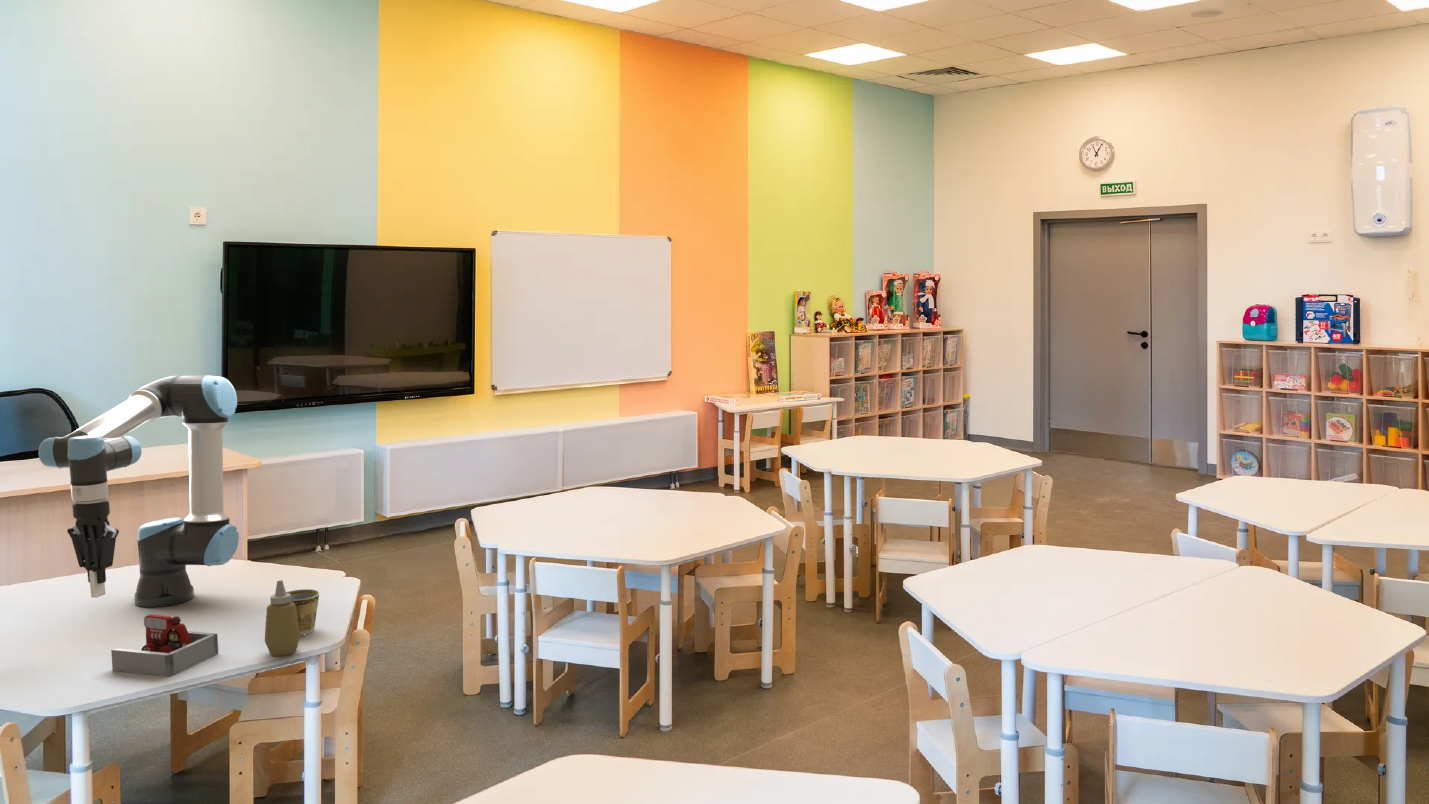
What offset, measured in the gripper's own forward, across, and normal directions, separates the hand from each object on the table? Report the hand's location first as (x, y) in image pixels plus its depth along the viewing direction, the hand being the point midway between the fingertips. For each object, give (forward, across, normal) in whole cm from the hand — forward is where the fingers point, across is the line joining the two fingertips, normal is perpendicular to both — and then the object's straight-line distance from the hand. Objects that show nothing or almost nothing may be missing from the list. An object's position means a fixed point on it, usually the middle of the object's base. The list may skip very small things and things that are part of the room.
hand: (98, 595), depth 241 cm
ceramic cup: (+15, +35, +26) cm, 46 cm away
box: (+15, +19, -1) cm, 24 cm away
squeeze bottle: (+15, +42, +11) cm, 46 cm away
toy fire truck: (+15, +17, +2) cm, 23 cm away
